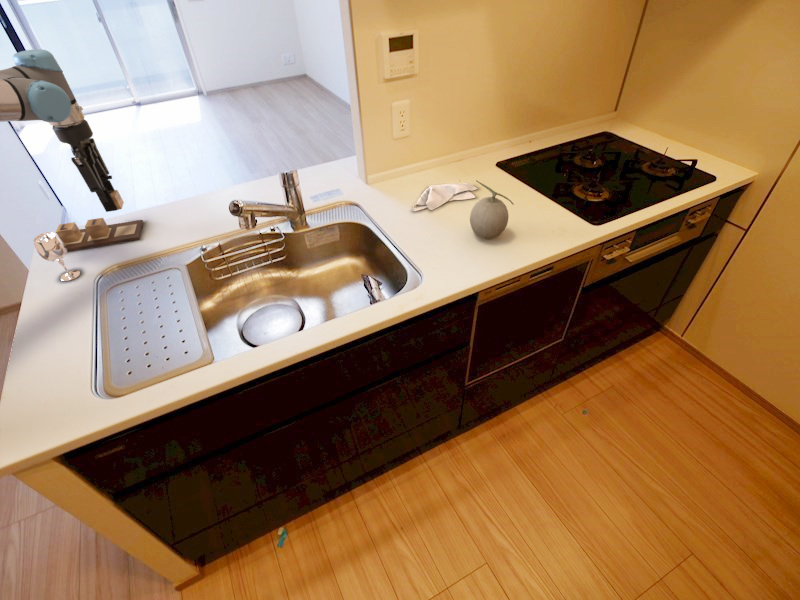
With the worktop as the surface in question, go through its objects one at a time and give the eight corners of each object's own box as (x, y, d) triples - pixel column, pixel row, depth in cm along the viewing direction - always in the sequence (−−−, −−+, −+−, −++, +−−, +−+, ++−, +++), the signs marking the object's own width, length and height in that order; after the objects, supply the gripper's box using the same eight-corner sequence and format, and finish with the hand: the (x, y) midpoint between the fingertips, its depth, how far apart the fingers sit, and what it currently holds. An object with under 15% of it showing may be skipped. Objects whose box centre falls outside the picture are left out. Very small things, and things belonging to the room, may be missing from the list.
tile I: (91, 238, 122) (84, 226, 120) (94, 231, 125) (87, 219, 123) (107, 236, 123) (100, 224, 121) (109, 229, 126) (102, 217, 123)
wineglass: (57, 285, 109) (29, 246, 101) (58, 272, 113) (31, 234, 105) (82, 278, 111) (57, 240, 103) (83, 266, 115) (58, 228, 106)
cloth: (464, 178, 150) (465, 172, 148) (486, 196, 140) (487, 189, 139) (397, 195, 141) (397, 188, 140) (416, 214, 132) (416, 208, 131)
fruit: (509, 246, 119) (519, 198, 109) (468, 244, 120) (474, 197, 110) (506, 226, 127) (515, 179, 117) (467, 224, 128) (472, 178, 118)
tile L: (63, 243, 121) (55, 231, 118) (66, 236, 124) (59, 224, 121) (78, 241, 122) (71, 229, 119) (82, 233, 124) (74, 221, 122)
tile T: (106, 211, 119) (98, 198, 116) (108, 204, 122) (101, 191, 119) (121, 209, 120) (114, 196, 117) (123, 202, 122) (117, 189, 120)
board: (54, 254, 119) (52, 251, 118) (63, 235, 126) (61, 232, 125) (139, 239, 124) (138, 236, 123) (143, 222, 131) (142, 219, 130)
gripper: (77, 133, 99) (123, 219, 115) (92, 109, 111) (132, 190, 127) (41, 137, 98) (92, 224, 114) (60, 112, 110) (104, 194, 126)
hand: (113, 206), depth 120 cm, fingers closed on tile T, 4 cm apart
